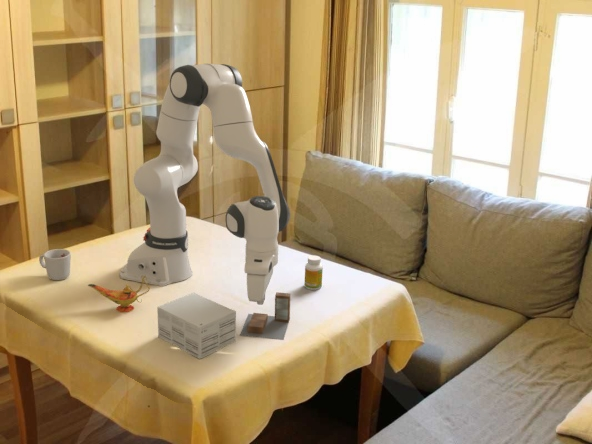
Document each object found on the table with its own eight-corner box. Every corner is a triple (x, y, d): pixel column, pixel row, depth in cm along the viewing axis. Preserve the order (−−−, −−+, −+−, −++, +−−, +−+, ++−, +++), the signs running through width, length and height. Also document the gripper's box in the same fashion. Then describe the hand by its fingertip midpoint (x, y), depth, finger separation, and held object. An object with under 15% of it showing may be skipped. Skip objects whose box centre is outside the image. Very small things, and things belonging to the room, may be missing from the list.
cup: (32, 277, 233) (30, 254, 230) (49, 268, 240) (47, 245, 237) (61, 284, 229) (59, 260, 227) (77, 274, 236) (76, 251, 234)
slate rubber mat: (239, 336, 202) (239, 335, 202) (248, 315, 215) (248, 313, 214) (283, 341, 201) (283, 339, 201) (290, 318, 213) (290, 317, 213)
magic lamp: (93, 300, 220) (91, 266, 216) (153, 305, 218) (152, 270, 215) (85, 311, 213) (82, 275, 210) (147, 315, 212) (145, 280, 208)
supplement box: (237, 342, 200) (237, 310, 197) (199, 360, 191) (199, 327, 187) (194, 321, 210) (194, 290, 207) (157, 337, 201) (156, 305, 198)
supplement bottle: (320, 291, 231) (321, 262, 228) (302, 289, 232) (304, 260, 229) (322, 284, 236) (324, 255, 233) (306, 282, 237) (307, 253, 234)
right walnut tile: (274, 321, 211) (275, 295, 208) (275, 317, 213) (276, 292, 210) (288, 322, 210) (289, 296, 207) (289, 319, 212) (290, 293, 209)
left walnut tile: (253, 319, 211) (248, 332, 204) (253, 312, 211) (248, 326, 203) (267, 320, 211) (262, 334, 203) (267, 314, 210) (262, 327, 203)
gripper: (257, 241, 214) (256, 286, 219) (243, 270, 195) (242, 317, 199) (278, 243, 213) (277, 287, 218) (267, 271, 194) (266, 319, 199)
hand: (260, 302), depth 208 cm, fingers closed
